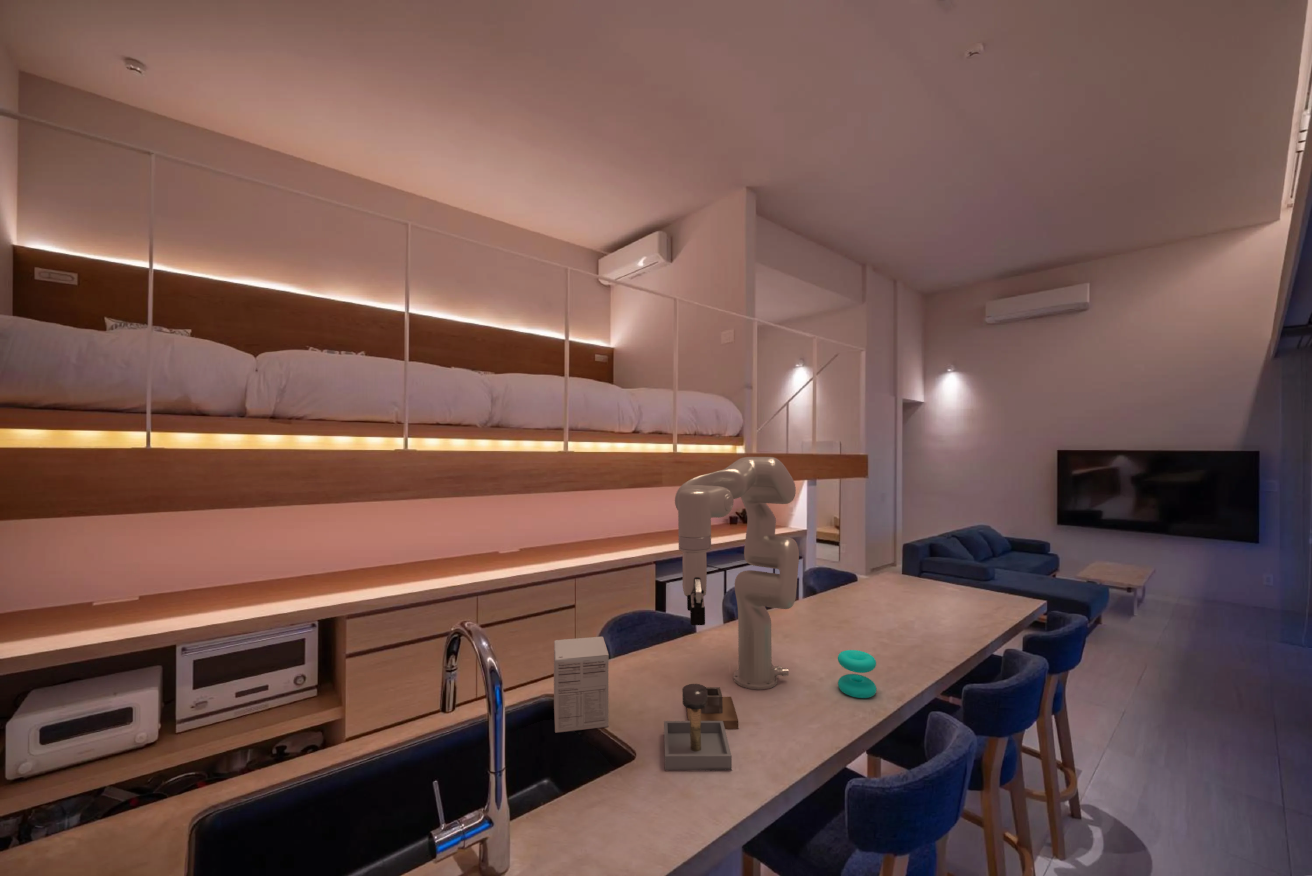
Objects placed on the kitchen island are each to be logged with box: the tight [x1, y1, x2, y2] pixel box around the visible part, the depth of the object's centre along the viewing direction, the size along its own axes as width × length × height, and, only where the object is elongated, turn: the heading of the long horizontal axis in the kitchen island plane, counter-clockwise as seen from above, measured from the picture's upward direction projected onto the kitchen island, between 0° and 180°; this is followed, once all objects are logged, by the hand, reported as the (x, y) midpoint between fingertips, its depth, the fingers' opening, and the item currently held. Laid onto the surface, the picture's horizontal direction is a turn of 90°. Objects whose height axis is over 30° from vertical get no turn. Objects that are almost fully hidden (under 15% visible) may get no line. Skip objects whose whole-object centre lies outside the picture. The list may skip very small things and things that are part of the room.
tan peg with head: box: [681, 683, 708, 751], centre depth 115 cm, size 6×6×13 cm
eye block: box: [685, 686, 740, 730], centre depth 130 cm, size 12×12×6 cm
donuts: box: [837, 649, 877, 699], centre depth 143 cm, size 10×10×10 cm
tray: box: [663, 720, 733, 772], centre depth 115 cm, size 14×14×3 cm
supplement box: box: [553, 636, 610, 734], centre depth 130 cm, size 13×13×18 cm
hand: (695, 617), depth 118 cm, fingers open, 9 cm apart
